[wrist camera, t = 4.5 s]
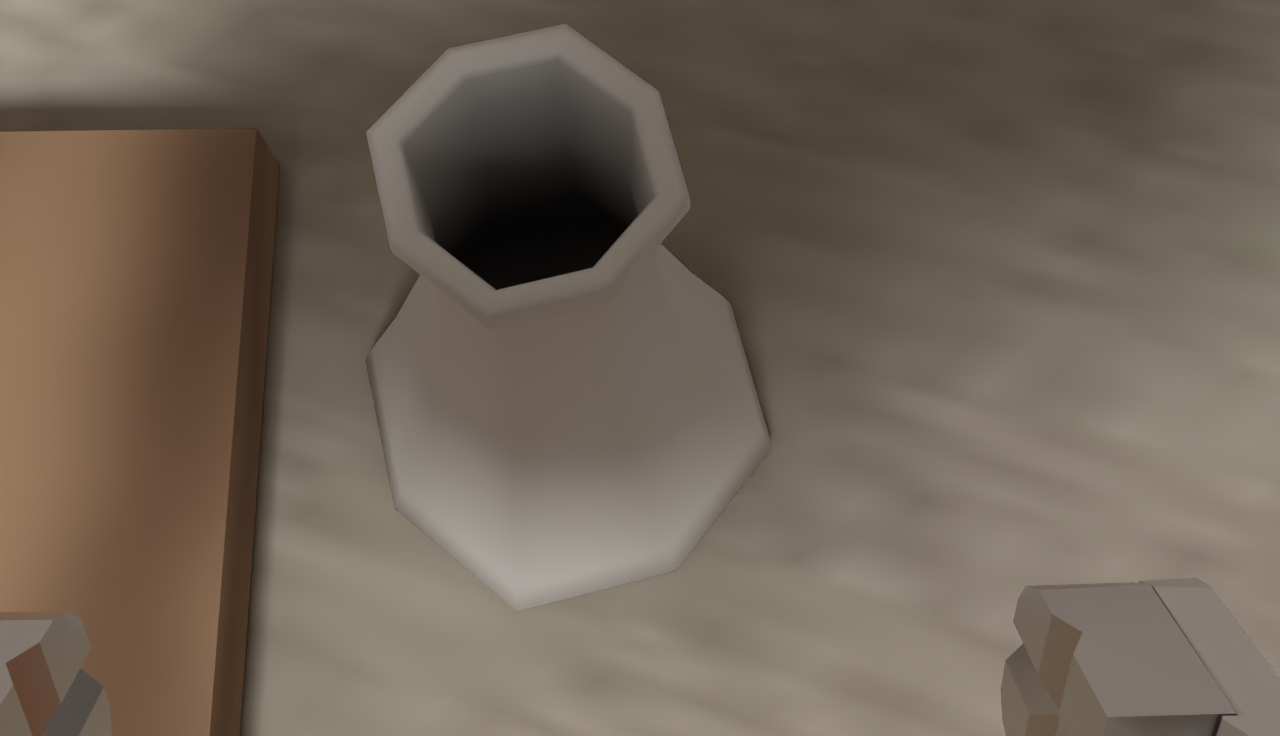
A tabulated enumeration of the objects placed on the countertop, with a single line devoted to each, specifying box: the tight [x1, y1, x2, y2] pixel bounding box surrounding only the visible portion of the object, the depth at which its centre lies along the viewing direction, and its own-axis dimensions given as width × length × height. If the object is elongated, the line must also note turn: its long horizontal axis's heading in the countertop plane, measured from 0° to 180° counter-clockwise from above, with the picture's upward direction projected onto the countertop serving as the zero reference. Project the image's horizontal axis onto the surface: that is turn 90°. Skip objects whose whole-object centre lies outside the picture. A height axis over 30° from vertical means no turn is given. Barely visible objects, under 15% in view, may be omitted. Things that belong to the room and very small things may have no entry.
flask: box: [366, 24, 773, 611], centre depth 16 cm, size 7×7×10 cm
